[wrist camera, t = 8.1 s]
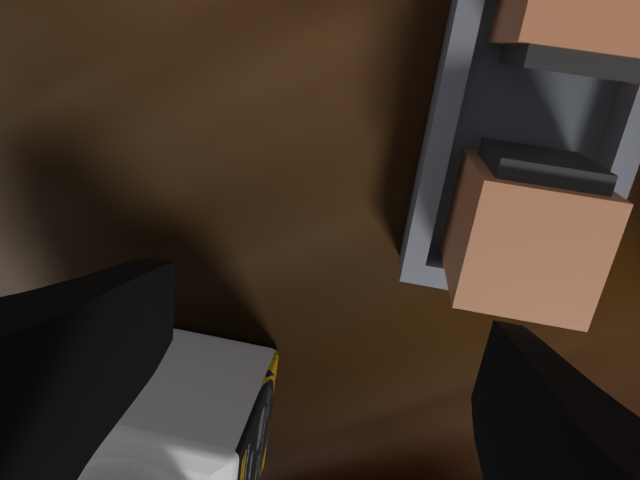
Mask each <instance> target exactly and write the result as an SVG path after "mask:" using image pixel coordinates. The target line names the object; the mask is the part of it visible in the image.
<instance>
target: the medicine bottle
mask: <svg viewBox="0 0 640 480" xmlns="http://www.w3.org/2000/svg"><path fill="white" fill-rule="evenodd" d="M277 365H278V352H277V351H276V350H275V349H273V348H269V347H264V346H259V345H254V344H249V343H244V342H239V341H234V340H229V339H224V338H220V337H215V336H210V335H205V334H200V333H195V332H190V331H185V330H180V329H175V328H173V340H172V342H171V344H170V346H169V348H168V350H167V352H166V354H165V355H164V357H163V359H162V361H161V363H160V365H159V366H158V368H157V370H156V372H155V373H154V375H153V376H152V377H151V379H150V380H149V382H148V383H147V384H146V386H145V387H144V388H143V390H142V391H141V392H140V394H139V395H138V396H137V398H136V399H135V400H134V402H133V403H132V404H131V406H130V407H129V408H128V410H127V411H126V412H125V413H124V415H123V416H122V417H121V419H120V420H119V421H118V423H117V424H116V425H115V427H114V428H113V429H112V431H111V432H110V433H109V434H108V436H107V437H106V438H105V440H104V441H103V442H102V444H101V445H100V446H99V448H98V449H97V450H96V452H95V453H94V455H93V456H92V458H91V459H90V461H89V462H88V463H87V465H86V466H85V468H84V470H83V471H82V473H81V475H80V476H79V478H78V480H259V479H260V476H261V473H262V469H263V466H264V461H265V453H266V446H267V439H268V431H269V424H270V417H271V409H272V402H273V394H274V387H275V380H276V372H277Z"/></svg>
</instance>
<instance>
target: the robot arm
mask: <svg viewBox="0 0 640 480" xmlns="http://www.w3.org/2000/svg"><path fill="white" fill-rule="evenodd" d="M175 273H176V262H172V261H167V260H161V259H156V258H144V259H139V260H135V261H131V262H128V263H124V264H121V265H117V266H114V267H111V268H108V269H104V270H101V271H98V272H95V273H91V274H88V275H85V276H82V277H78V278H75V279H71V280H68V281H64V282H60V283H57V284H53V285H49V286H46V287H42V288H38V289H34V290H31V291H26V292H22V293H18V294H13V295H8V296H3V297H0V480H78V478H79V476H80V475H81V473H82V471H83V470H84V468H85V466H86V465H87V463H88V462H89V461H90V459H91V458H92V456H93V455H94V453H95V452H96V450H97V449H98V448H99V446H100V445H101V444H102V442H103V441H104V440H105V438H106V437H107V436H108V434H109V433H110V432H111V431H112V429H113V428H114V427H115V425H116V424H117V423H118V421H119V420H120V419H121V417H122V416H123V415H124V413H125V412H126V411H127V410H128V408H129V407H130V406H131V404H132V403H133V402H134V400H135V399H136V398H137V396H138V395H139V394H140V392H141V391H142V390H143V388H144V387H145V386H146V384H147V383H148V382H149V380H150V379H151V377H152V376H153V375H154V373H155V372H156V370H157V368H158V366H159V365H160V363H161V361H162V359H163V357H164V355H165V354H166V352H167V350H168V348H169V346H170V344H171V342H172V340H173V326H174V299H175ZM471 402H472V417H473V428H474V438H475V443H476V448H477V452H478V457H479V461H480V466H481V470H482V475H483V479H484V480H640V417H638V416H637V415H636V414H634V413H633V412H631V411H630V410H628V409H627V408H626V407H624V406H623V405H622V404H620V403H619V402H618V401H616V400H615V399H614V398H612V397H611V396H610V395H608V394H607V393H606V392H604V391H603V390H601V389H600V388H599V387H598V386H596V385H595V384H594V383H593V382H591V381H590V380H589V379H588V378H586V377H585V376H584V375H583V374H581V373H580V372H579V371H578V370H577V369H575V368H574V367H573V366H572V365H571V364H569V363H568V362H567V361H566V360H565V359H563V358H562V357H561V356H560V355H559V354H558V353H556V352H555V351H554V350H553V349H552V348H551V347H549V346H548V345H547V344H546V343H545V342H543V341H542V340H541V339H540V338H539V337H537V336H536V335H535V334H534V333H532V332H531V331H530V330H528V329H527V328H525V327H524V326H522V325H516V324H511V323H505V322H500V321H495V320H493V324H492V327H491V331H490V334H489V338H488V341H487V345H486V348H485V351H484V355H483V358H482V362H481V365H480V369H479V372H478V376H477V379H476V383H475V386H474V390H473V393H472V397H471Z"/></svg>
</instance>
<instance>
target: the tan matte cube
mask: <svg viewBox="0 0 640 480" xmlns="http://www.w3.org/2000/svg"><path fill="white" fill-rule="evenodd" d="M487 43H493V44H500V45H503V49H502V53H501V57H500V62H499V64H505V65H511V66H517V67H524V68H531V69H538V70H545V71H552V72H559V73H566V74H573V75H580V76H587V77H594V78H601V79H608V80H615V81H622V82H629V83H636V84H640V0H497V1H496V5H495V10H494V14H493V18H492V23H491V27H490V31H489V36H488V40H487Z"/></svg>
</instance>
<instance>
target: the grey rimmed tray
mask: <svg viewBox="0 0 640 480" xmlns="http://www.w3.org/2000/svg"><path fill="white" fill-rule="evenodd" d="M496 1H497V0H452V1H451V6H450V11H449V16H448V21H447V26H446V31H445V36H444V41H443V45H442V50H441V55H440V60H439V65H438V70H437V75H436V80H435V85H434V90H433V95H432V99H431V104H430V109H429V114H428V119H427V124H426V129H425V134H424V139H423V144H422V149H421V154H420V158H419V163H418V168H417V173H416V178H415V183H414V188H413V193H412V198H411V203H410V208H409V212H408V217H407V222H406V227H405V232H404V237H403V242H402V247H401V252H400V281H401V282H407V283H412V284H418V285H424V286H429V287H435V288H440V289H446V290H449V295H450V300H451V304H452V308H457V309H463V310H468V311H474V312H479V313H485V314H490V315H496V316H501V317H507V318H512V319H518V320H523V321H529V322H534V323H539V324H545V325H550V326H556V327H561V328H567V329H572V330H578V331H583V332H587V331H588V328H589V326H590V323H591V320H592V317H593V315H594V312H595V309H596V306H597V304H598V301H599V298H600V295H601V293H602V290H603V287H604V285H605V282H606V279H607V276H608V274H609V271H610V268H611V265H612V263H613V260H614V257H615V254H616V252H617V249H618V246H619V243H620V241H621V238H622V235H623V232H624V230H625V227H626V224H627V221H628V219H629V216H630V213H631V210H632V208H633V205H634V204H632V203H631V202H629V201H628V200H627V198H628V195H629V192H630V189H631V187H632V184H633V181H634V178H635V176H636V173H637V170H638V167H639V164H640V84H636V83H629V82H622V81H615V80H608V79H601V78H594V77H587V76H580V75H573V74H566V73H559V72H552V71H545V70H538V69H531V68H524V67H517V66H511V65H505V64H499V62H500V57H501V53H502V49H503V45H500V44H493V43H487V40H488V36H489V31H490V27H491V23H492V18H493V14H494V10H495V5H496Z"/></svg>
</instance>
